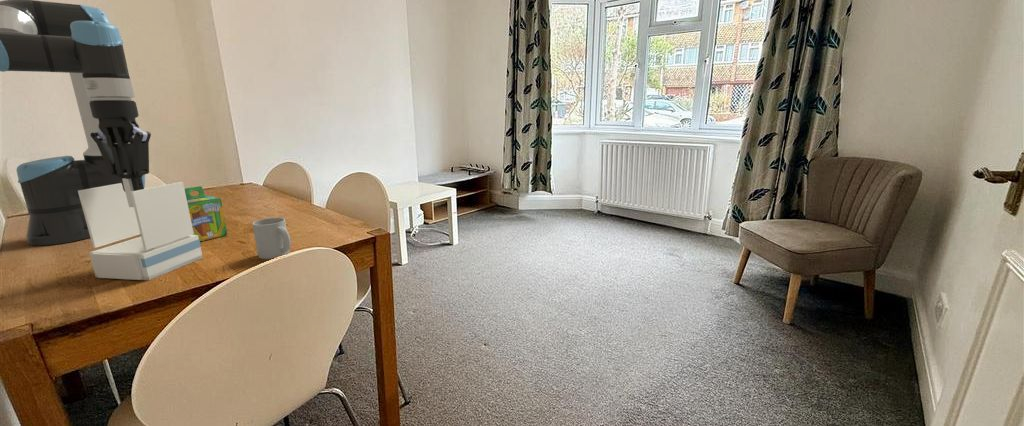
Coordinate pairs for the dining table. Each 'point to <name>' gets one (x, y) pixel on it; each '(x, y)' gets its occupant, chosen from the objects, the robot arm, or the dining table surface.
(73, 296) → the dining table surface
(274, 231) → the cup
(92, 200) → the flap
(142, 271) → the carton
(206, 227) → the chalk box
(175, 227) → the flap
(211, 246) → the dining table surface
